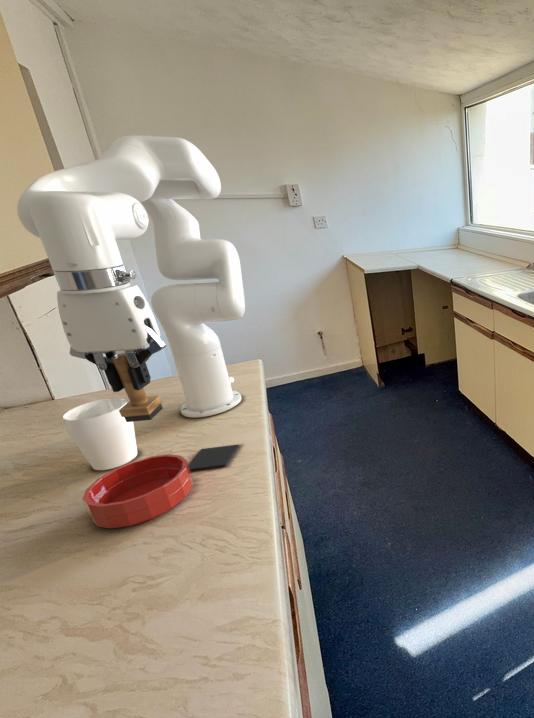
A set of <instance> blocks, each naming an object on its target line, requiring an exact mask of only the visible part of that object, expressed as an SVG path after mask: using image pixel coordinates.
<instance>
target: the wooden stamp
mask: <svg viewBox="0 0 534 718" xmlns="http://www.w3.org/2000/svg"><path fill="white" fill-rule="evenodd" d="M111 359H112V361H113V364H114V366H115V368H116V371H117V373H118V375H119V377H120V380H121V382H122V384H123V387H124V388H123V390H124V391H125V393H126V396H127V398H128V400H129V401H128V402H127V404H126V405H125V406H123V407H122V408H121V409H120V410H119V412H120V414H121V416H122V417H125V420H126V422H133V423H134V422H143V421H151V420H152V419H154V418H155V417H156V416H157V415H158V414H159V413H160V412H161V411H162V410H163V409H164V407H163V405H162V403H163V400H162V396H161V395H147V393H146V391H145V387H144V388H142V389H141V390H135V389H134V388H133V385H132V382H131V379H130V376H129V374H128V369H129V368H130V367H131V366H130V364H129V362H128V359H127V357H126V354H125V352H121V353H116V355H114V356H112V357H111Z"/></svg>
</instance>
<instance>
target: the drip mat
mask: <svg viewBox="0 0 534 718" xmlns="http://www.w3.org/2000/svg"><path fill="white" fill-rule="evenodd" d="M239 447H240V444H232V445H231V444H230V445H223V446H215V447H206V448H201V449H200V450H199V452H197V454H196V455H195V457H193V459H192V460H191V461H190V462H189V463H188V466H189V469H190V472H195V471H202V470H210V469H216V468H217V469H218V468H224V467H225V468H226V467H227V465H228V464H229V462H230V461H231V459H232V458H233V456H234V455H235V453H236V452H237V450H238V449H239Z"/></svg>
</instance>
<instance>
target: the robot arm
mask: <svg viewBox="0 0 534 718" xmlns="http://www.w3.org/2000/svg"><path fill="white" fill-rule="evenodd" d="M221 182H222V181H221V179H220V176H219V173H218V171H217V170H216V168H215V167H214V165H213V164H212V163H211V162H210V161H209V160H208V158H207V157H206V155H205V154H204V153H203V152H202V151H201V150H200V148H198V147H197V146H196V145H195V144H193V143H192V142H191V141H189V140H187V139H185V138H183V137H178V136H163V135H162V136H159V135H143V134H142V135H141V134H130V135H123V136H120V137H117V138H116V139H115V140H113V141H112V143H111V144H109V146H108V147H107V149H106V150H105V151H104V152H103V153H102V154H101V155H100V156H99V158H98V159H95V160H91V161H86V162H82V163H79V164H76V165H72V166H69V167H65V168H62V169H58V170H55V171H51V172H48V173H45V174H43V175H41V176H39V177H38V178H36V179H35V180H33V181H32V182H31V183H30V184H29V185H28V186H27V187H26V188H25V189H24V190H23V191H22V193H21V194H20V196H19V198H18V201H17V205H16V212H17V217H18V220H19V221H20V223H21V225H22V226H23V227H24V229H25V230H26V231H28V233H30V234H32V235H33V236H34V237H36V238H40V240H41V243H42V246H43V249H44V251H45V253H46V256H47V258H48V261H49V264H50V267H51V269H52V271H53V274H54V277H55V279H56V282H57V285H58V287H59V290H58V291H56V300H57V309H58V313H59V314H58V315H59V318H60V322H61V326H62V329H63V331H64V334H65V337H66V339H67V341H68V343H69V346H70V348H69V355H70V356H71V357H74V358H79V359H82V360H86V361H88V362H90V363H92V364H93V365H95V366H97V368H98V370H100V371H104V374H105V377H106V379H107V382H108V384H109V386H111V389H112V392H113V393H118V392H120V391H122V390H124V387H123V384H122V382H121V380H120V377H119V375H118V373H117V371H116V368H115V366H114V364H113V361H112V359H111V357H112V356H114V355H117V352H121V351H124V352H123V353H125V354H126V357H127V359H128V362H129V364H130V366H131V367H130V368H129V369H128V374H129V376H130V379H131V382H132V385H133V388H134V389H135V390H141V389H142V388H144V389H145V387H147V386H148V385H149V384H150V383H151V373H150V371H149V369H148V365H147V363H146V362H148V361H149V359H150V358H151V357H152V356H153V355H154V354H156V353H158V352H161V351H162V350H163V349H165V348H166V347H167V344H166V343H165V342H164V341H163V340H162V339H161V336H162V335H161V331H160V328H159V325H158V323H157V320H158V322H159V324H160V325H161V327H162V330H163V331H164V334H165V336H166V340H167V342H168V345H169V348H170V352H171V355H172V358H173V361H174V362H173V363H174V364H175V368H176V371H177V375H178V378H179V381H180V384H181V388H182V392H183V394H184V399H185V401H186V402H185V403H183V404H182V406H180V412H181V415H182V416H184V417H187V418H206V417H210V416H215V415H218V414H221V413H224V412H227V411H230V410H231V409H233V408H235V407H236V406H237V405H238V404H240V403H241V401H242V394H241V393H240V392H239V391H236V390H233V388H232V384H233V383H234V382H235V378H234V377H233V376H229V375H230V374H229V372H228V368H227V365H226V360H225V357H224V352H223V348H222V345H221V340H220V338H219V336H218V334H217V333H216V332H215V331H214V330H213V329H211V327H209V326H207V324H208V323H209V324H210V323H219V322H220V323H221V322H229V321H236V320H239V319H242V318H243V316H244V315H245V312H246V298H245V291H244V282H243V275H242V265H241V259H240V256H239V253H238V251H237V248H236V247H235V246H234V243H232V242H230V241H229V240H227V239H222V238H206V239H205V238H201V231H200V224H199V221H198V219H196V217H195V216H194V215H192V213H190V212H189V211H188V210H187V209H185V208H184V206H181V205H180V204H179V203H177V202H176V201H175V200H213V199H216V198H217V197H219V196H220V194H221V191H222V183H221ZM149 217H150V219H151V222H152V225H153V234H154V245H155V255H156V263H157V267H158V271H159V273H160V274H161V275H162V276H163V277H164V278H166V279H168V280H172V281H196V280H214V279H215V280H218V281H212V282H191V283H178V284H176V283H175V284H170V285H165V286H162V287H160V288H157V289H156V290H155V291H154V292H153V293H152V295H151V298H150V304H151V306H150V304H149V302H148V300H147V299H146V297H145V295H144V293H143V292H142V290H141V288H140V286H138V284H136V283H130V282H131V280H135V279H136V278H137V273H136V272H135V270H128V269H127V267H126V265H125V264H124V261H123V259H122V258H123V257H122V256H121V251H120V249H119V247H118V243H117V241H123V240H124V241H125V240H133V239H137V238H140V237H141V236H143V235H144V234H145V233H146V231H147V230H148V226H149V223H150V219H149ZM155 317H156V318H157V320H156V318H155ZM147 345H149V346H148V347H146V346H147Z"/></svg>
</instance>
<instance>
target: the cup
mask: <svg viewBox="0 0 534 718" xmlns="http://www.w3.org/2000/svg"><path fill="white" fill-rule="evenodd" d="M127 403H128V402H127V400H126V399H125V398H122V397H110V398H103V399H98V400H93V401H90V402H87V403H83V404H81V405H78V406H75V407H73V408H71V409H70V410H68V411H66V412H65V413H64V414H63V416H62V418H63V421H64V423H65V424H64V425H65V428H66V431H67V433H68V435H69V437H70V438H71V439H72V441H73V442H74V444H75V445H76V446H77V448H78V449H79V451H80V452H81V454H82V455H83V456H84V458H85V459H86V461H87V462H88V463H89V465H90V466H91V468H92V469H93V470H96V471H106V470H113V469H116V468H119V467H121V466H123V465H126V464H128V463H130V462H132V460H134V459H136V457H137V455H138V447H137V439H136V432H135V425H134V422H126V420H125V417H122V416H121V414H120V412H119V410H120V409H121V408H122V407H123V406H125V405H126V404H127Z"/></svg>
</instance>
